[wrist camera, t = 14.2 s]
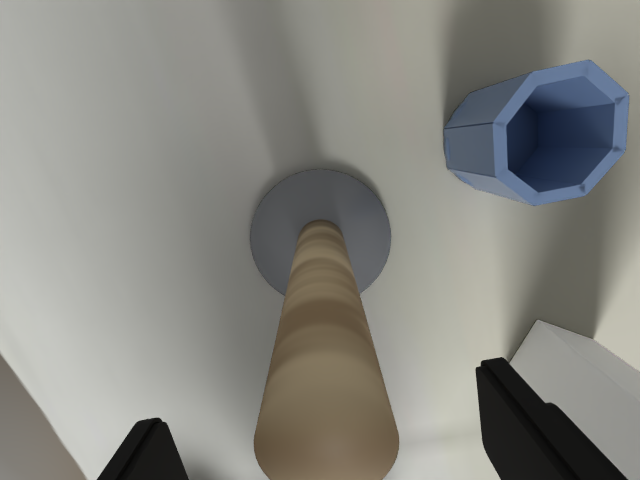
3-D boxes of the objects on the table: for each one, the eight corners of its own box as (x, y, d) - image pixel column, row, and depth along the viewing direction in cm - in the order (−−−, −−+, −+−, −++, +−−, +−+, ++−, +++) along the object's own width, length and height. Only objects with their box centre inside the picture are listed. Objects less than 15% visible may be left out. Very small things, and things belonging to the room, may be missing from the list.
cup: (542, 177, 25) (624, 189, 18) (448, 196, 25) (495, 215, 18) (541, 76, 23) (634, 47, 16) (439, 98, 23) (488, 79, 16)
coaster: (397, 287, 27) (399, 291, 27) (270, 311, 28) (269, 315, 27) (377, 155, 24) (379, 156, 24) (236, 185, 25) (233, 186, 24)
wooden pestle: (347, 258, 26) (407, 488, 8) (303, 267, 26) (273, 509, 9) (339, 215, 25) (388, 373, 7) (293, 224, 25) (236, 400, 8)
